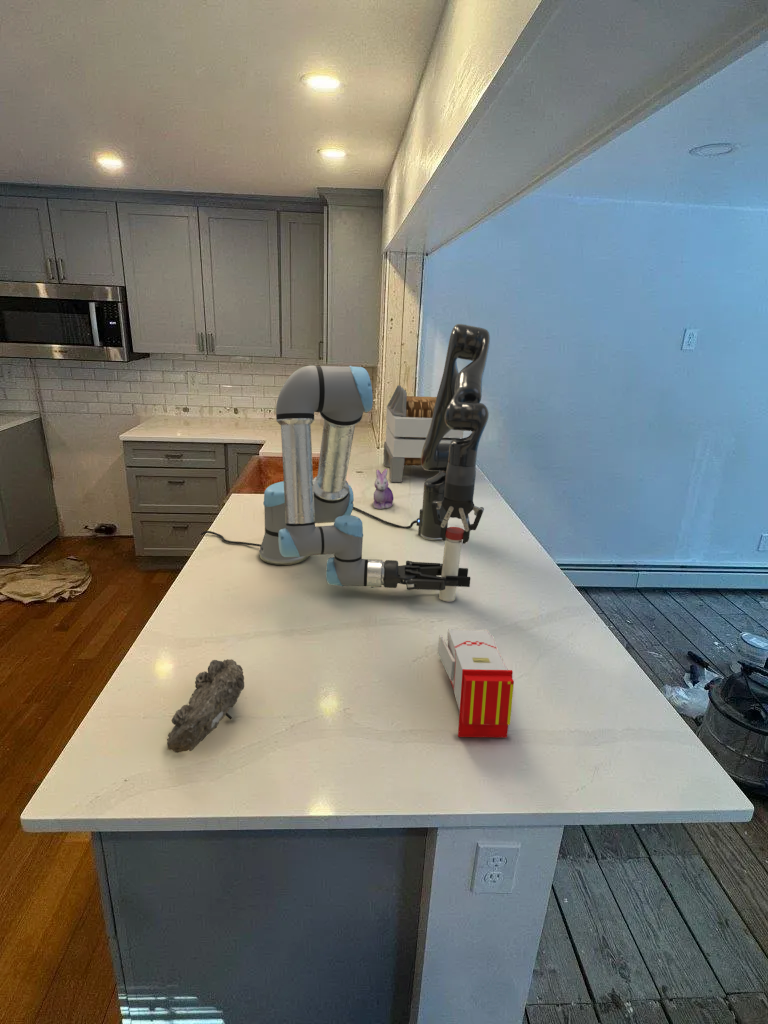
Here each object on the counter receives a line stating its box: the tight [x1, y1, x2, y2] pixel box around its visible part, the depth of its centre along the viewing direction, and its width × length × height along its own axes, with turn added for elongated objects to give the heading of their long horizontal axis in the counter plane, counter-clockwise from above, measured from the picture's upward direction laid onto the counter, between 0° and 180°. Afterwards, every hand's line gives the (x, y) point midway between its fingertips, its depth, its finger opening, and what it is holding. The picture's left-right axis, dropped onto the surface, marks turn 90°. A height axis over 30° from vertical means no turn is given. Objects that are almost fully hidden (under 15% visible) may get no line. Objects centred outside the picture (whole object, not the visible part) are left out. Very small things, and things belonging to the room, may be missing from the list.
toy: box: [437, 628, 515, 738], centre depth 117 cm, size 12×13×30 cm
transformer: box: [383, 384, 464, 483], centre depth 268 cm, size 34×33×41 cm
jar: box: [438, 538, 463, 603], centre depth 154 cm, size 4×4×19 cm
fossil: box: [166, 658, 245, 754], centre depth 106 cm, size 22×10×15 cm
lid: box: [446, 526, 465, 541], centre depth 151 cm, size 5×5×2 cm
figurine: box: [372, 468, 394, 510], centre depth 225 cm, size 9×10×15 cm
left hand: (468, 577), depth 155 cm, fingers closed on jar, 4 cm apart
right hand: (454, 540), depth 151 cm, fingers closed on lid, 5 cm apart
